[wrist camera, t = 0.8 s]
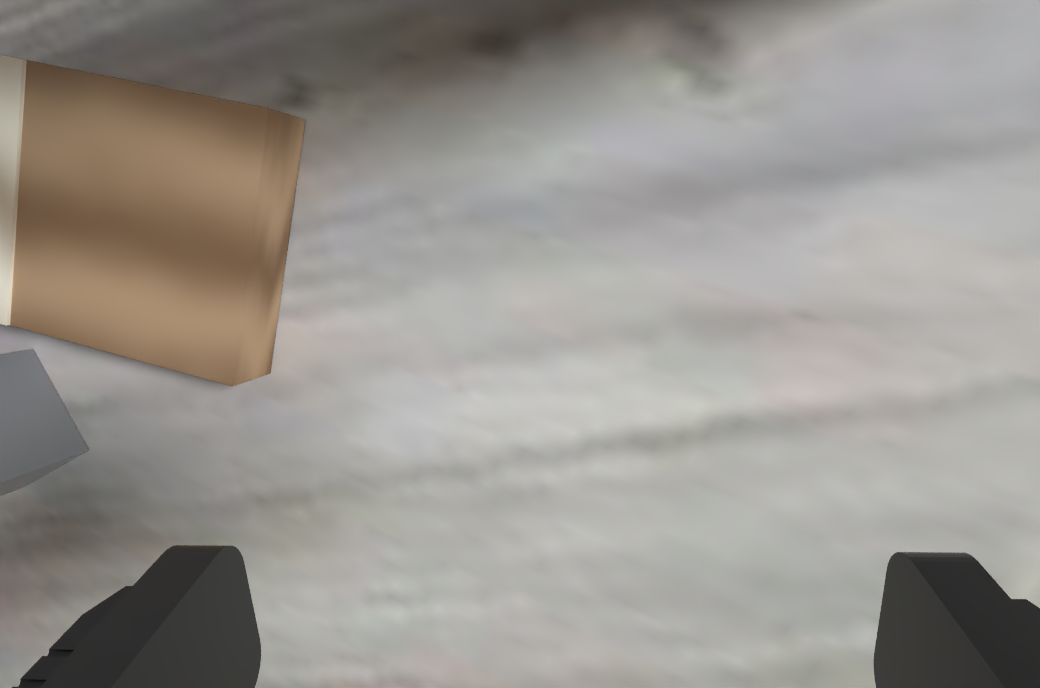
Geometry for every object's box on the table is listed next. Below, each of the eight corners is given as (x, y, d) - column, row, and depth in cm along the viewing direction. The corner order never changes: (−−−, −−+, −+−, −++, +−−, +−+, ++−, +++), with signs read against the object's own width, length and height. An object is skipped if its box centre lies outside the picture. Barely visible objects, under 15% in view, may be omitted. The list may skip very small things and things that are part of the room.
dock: (61, 71, 34) (-1, 54, 30) (305, 120, 31) (265, 107, 28) (44, 312, 36) (-16, 319, 33) (270, 373, 34) (229, 387, 31)
